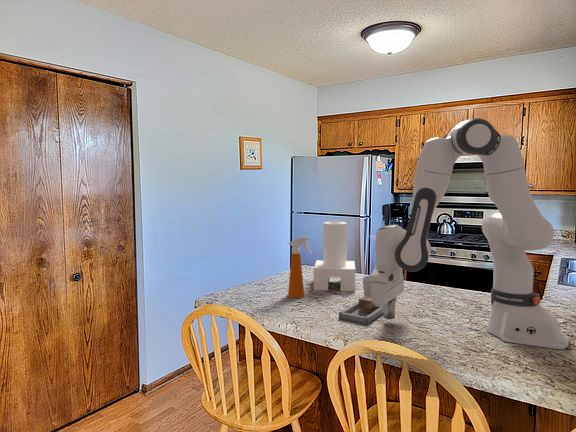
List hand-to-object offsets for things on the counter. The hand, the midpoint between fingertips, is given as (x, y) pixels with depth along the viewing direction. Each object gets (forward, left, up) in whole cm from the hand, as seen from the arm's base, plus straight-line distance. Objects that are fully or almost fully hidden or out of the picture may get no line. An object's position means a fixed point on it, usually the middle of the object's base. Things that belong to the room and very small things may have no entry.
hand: (389, 311), depth 137 cm
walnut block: (+11, -6, -4) cm, 13 cm away
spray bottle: (+43, -9, -5) cm, 45 cm away
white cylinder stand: (+41, -34, -5) cm, 53 cm away
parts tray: (+11, -2, -4) cm, 12 cm away
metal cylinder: (0, 0, -2) cm, 2 cm away
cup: (+14, -19, -5) cm, 24 cm away
